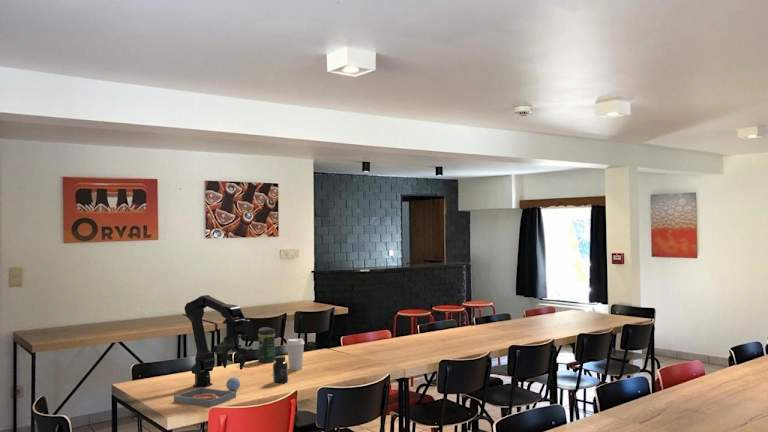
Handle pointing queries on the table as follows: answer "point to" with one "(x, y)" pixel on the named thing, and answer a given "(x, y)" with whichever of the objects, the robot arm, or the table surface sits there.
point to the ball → (233, 384)
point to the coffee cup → (295, 353)
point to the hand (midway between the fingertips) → (232, 368)
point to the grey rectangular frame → (205, 397)
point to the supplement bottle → (280, 370)
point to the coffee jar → (266, 344)
